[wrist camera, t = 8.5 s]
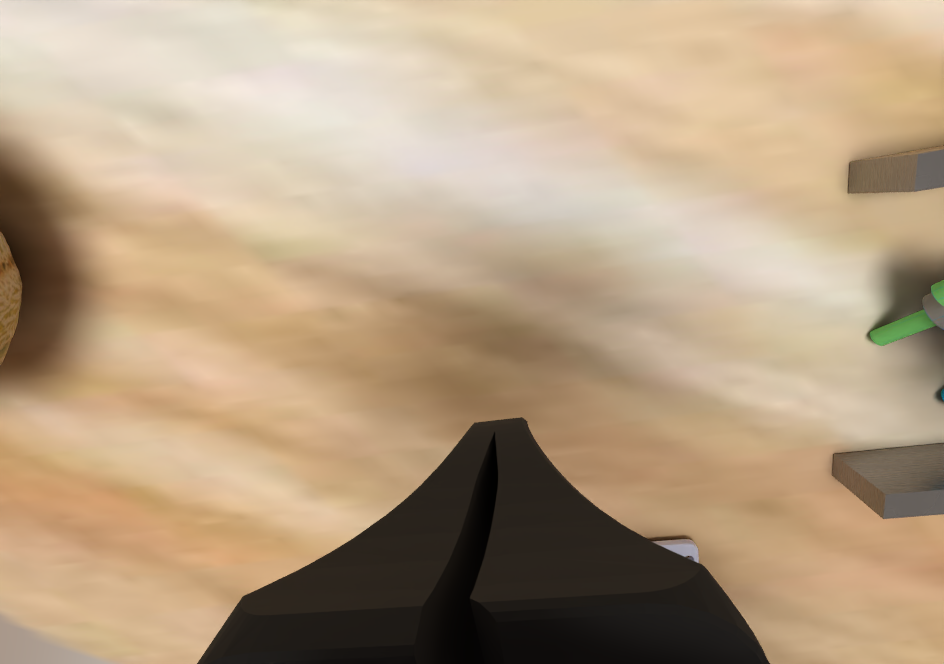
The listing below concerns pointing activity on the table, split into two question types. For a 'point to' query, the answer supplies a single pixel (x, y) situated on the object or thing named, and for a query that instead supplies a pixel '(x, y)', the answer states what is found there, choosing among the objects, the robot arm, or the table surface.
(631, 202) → the table surface
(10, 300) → the cantaloupe
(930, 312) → the gear
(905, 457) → the bracket
